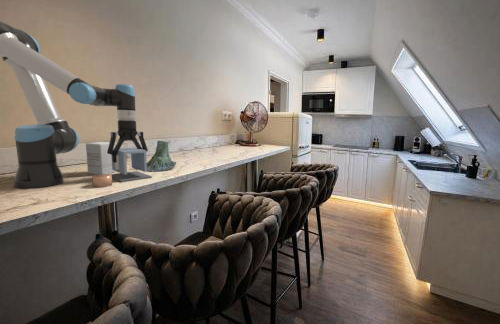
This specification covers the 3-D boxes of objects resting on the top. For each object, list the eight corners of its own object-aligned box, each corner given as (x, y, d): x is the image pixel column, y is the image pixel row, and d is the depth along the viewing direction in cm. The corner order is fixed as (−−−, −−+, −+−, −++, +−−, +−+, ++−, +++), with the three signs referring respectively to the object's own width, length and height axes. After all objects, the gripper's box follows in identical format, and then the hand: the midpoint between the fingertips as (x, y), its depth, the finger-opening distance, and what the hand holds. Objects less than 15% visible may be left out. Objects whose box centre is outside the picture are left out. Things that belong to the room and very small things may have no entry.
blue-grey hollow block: (112, 169, 117) (111, 148, 115) (133, 167, 124) (132, 147, 122) (124, 174, 108) (123, 151, 106) (146, 171, 115) (146, 150, 113)
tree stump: (131, 170, 132) (135, 137, 134) (157, 173, 151) (160, 144, 153) (159, 172, 126) (162, 138, 128) (182, 174, 145) (185, 144, 146)
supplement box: (102, 170, 128) (101, 141, 126) (116, 171, 126) (115, 142, 124) (87, 173, 120) (84, 143, 117) (102, 175, 117) (100, 144, 115)
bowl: (91, 184, 100) (90, 175, 100) (108, 182, 105) (108, 173, 105) (96, 188, 96) (95, 178, 95) (114, 185, 101) (114, 175, 100)
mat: (107, 176, 116) (106, 174, 116) (136, 172, 127) (136, 171, 127) (120, 182, 106) (120, 180, 106) (151, 177, 116) (151, 176, 116)
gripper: (102, 119, 101) (105, 172, 105) (154, 120, 118) (156, 166, 122) (96, 119, 106) (99, 169, 110) (147, 120, 123) (148, 164, 126)
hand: (129, 167), depth 116 cm, fingers closed on blue-grey hollow block, 10 cm apart
